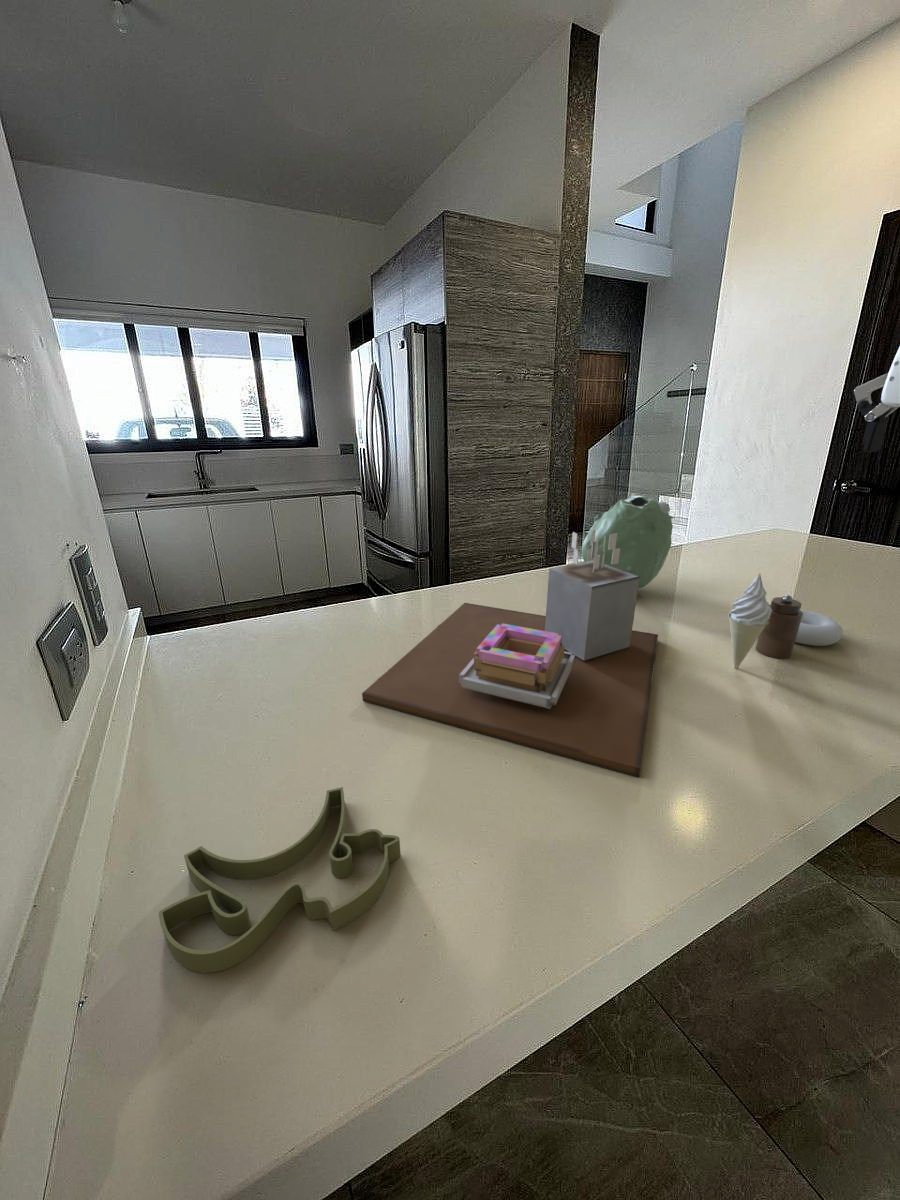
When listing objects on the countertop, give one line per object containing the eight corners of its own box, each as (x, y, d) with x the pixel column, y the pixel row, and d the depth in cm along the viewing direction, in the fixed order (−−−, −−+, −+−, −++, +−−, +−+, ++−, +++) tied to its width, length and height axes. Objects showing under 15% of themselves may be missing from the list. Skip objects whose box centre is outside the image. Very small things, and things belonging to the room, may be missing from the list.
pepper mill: (787, 647, 77) (803, 592, 74) (793, 661, 73) (811, 603, 70) (753, 642, 79) (767, 588, 76) (757, 655, 75) (772, 598, 72)
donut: (779, 619, 88) (758, 634, 82) (784, 602, 87) (763, 615, 81) (846, 638, 81) (829, 655, 75) (853, 619, 79) (836, 635, 73)
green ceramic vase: (561, 587, 104) (569, 494, 97) (620, 572, 113) (631, 486, 106) (620, 611, 92) (634, 506, 84) (680, 591, 101) (697, 496, 94)
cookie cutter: (360, 792, 49) (358, 776, 48) (418, 882, 40) (417, 864, 39) (160, 881, 40) (154, 864, 39) (174, 1024, 31) (166, 1005, 30)
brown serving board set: (638, 777, 51) (668, 611, 44) (362, 700, 64) (350, 565, 57) (656, 640, 80) (676, 528, 73) (464, 608, 94) (465, 511, 87)
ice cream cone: (762, 670, 71) (788, 574, 65) (742, 680, 68) (768, 581, 63) (729, 656, 75) (751, 565, 69) (709, 664, 72) (730, 570, 67)
